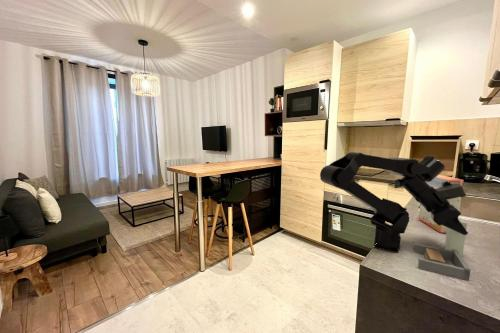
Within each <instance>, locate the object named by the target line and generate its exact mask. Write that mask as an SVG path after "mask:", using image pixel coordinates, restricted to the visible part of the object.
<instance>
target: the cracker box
mask: <svg viewBox="0 0 500 333" xmlns="http://www.w3.org/2000/svg"><path fill="white" fill-rule="evenodd" d="M446 181H448V182H450V183H451V184H454V183H456V184H460V185H461V186H462V187H463V188H464V181H465V180H464V179H460V178H456V177H452V176H448V175H444V174H439V175H438V176H437V177H435V178H434V179H433V180H432V181H430V182H427V181H425V182H426V183H427V184H428V185H430V186H432V187H433V188H434V189H437V188H439V187H442V182H446ZM446 200H448V201H449V203H450V205H453V206H454V207H455V208H456V209H457V210H458V211H459V212H461V210H460V209H461V202H462V197H457V198H453V199H446ZM419 204H420V203H419ZM458 217H459V218H460V216H458ZM418 220H419V221H420V222H422V223H424V224H425V225H426V226H429V227H430V228H432V229H434V230H435V231H437V232H438V233H441V234H442V233H443V234H447V227H445V226H443V225H438V224H437V223H436V222H435V221H434V220H433V219H432V218H431V213H430V212H428V211H427V210H426V209H425V208H424V207H423V206H422V205H421V204H420V206H419V213H418Z"/></svg>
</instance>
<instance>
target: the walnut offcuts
mask: <svg viewBox="0 0 500 333" xmlns="http://www.w3.org/2000/svg"><path fill="white" fill-rule="evenodd" d="M423 256H424V259H426V260H430V261H434V262H439V263H443V264H446V261H445V259H444V258H443V257H442V255H441V254H440V252H439V251H438V250H433V249H428V248H426V251H425V253H424V254H423Z"/></svg>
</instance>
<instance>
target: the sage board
mask: <svg viewBox="0 0 500 333" xmlns="http://www.w3.org/2000/svg"><path fill="white" fill-rule="evenodd" d="M458 219H459V221H460V222H461V224H462V225H463V226H464V228H465V229H466V230H467V227H468V226H467V225H468V222H466V221H465V219H463V218H462V217H460V216H459V217H458ZM465 240H466V235H463V234H461V233H459V232H457V231H454V230H452V229H450V228H448V227H447V233H445V242H444V243H445V244H444V249H446V250H451V251H452V249H454V250H457V251H458V252H459V254H460V255H461V257H462V258H463V256H464V251H465V250H464V248H465Z"/></svg>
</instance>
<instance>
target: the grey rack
mask: <svg viewBox="0 0 500 333" xmlns="http://www.w3.org/2000/svg"><path fill="white" fill-rule="evenodd" d="M412 248H413V250H412V251H413V252H414V253H418V254H422V255H424V253H425V251H426V248H428V249H433V250H438V251H439V252H440V254H441V255H442V257H443V259H444V260H448V261H449V260H451V261H452V263H453V264H454V265H451V264H447V263H445V264H443V263H439V262H434V261H430V260H426V259H425V258H420V257H419V258H418V262H417V263H418V264H417V268H418V269H420V270H425V271H429V272H433V273H436V274H440V275H445V276H449V277H452V278H456V279H461V280H464V281H470V275H471V268H470V267H469V265H468V264H467V262H466V261H465V259H464V258H463V257H461V255H460V254H459V252H458V251H457V250H454V249H452V251H451V250H446V249H445V248H440V247H436V246H431V245H425V244H419V243H415V242H413V247H412Z"/></svg>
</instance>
